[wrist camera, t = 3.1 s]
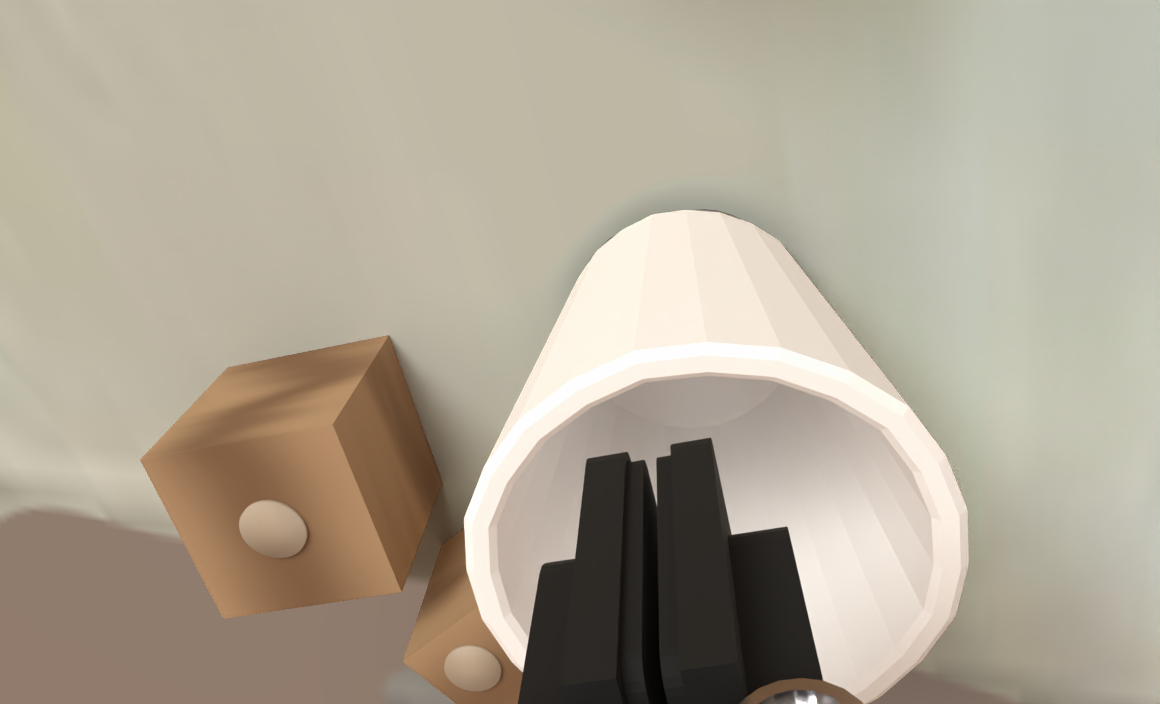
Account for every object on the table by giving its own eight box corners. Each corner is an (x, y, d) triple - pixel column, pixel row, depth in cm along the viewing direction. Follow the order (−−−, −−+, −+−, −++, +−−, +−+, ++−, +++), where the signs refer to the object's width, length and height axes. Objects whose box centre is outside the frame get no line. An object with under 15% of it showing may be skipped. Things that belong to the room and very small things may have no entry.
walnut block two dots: (667, 558, 33) (670, 685, 28) (552, 636, 35) (534, 768, 30) (555, 454, 32) (535, 567, 26) (442, 543, 34) (401, 665, 28)
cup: (887, 201, 27) (1063, 408, 15) (793, 470, 31) (875, 787, 20) (564, 134, 27) (499, 293, 15) (513, 414, 31) (433, 701, 20)
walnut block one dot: (389, 334, 30) (330, 427, 25) (442, 481, 33) (400, 595, 27) (228, 366, 31) (137, 462, 26) (291, 506, 34) (221, 622, 28)
